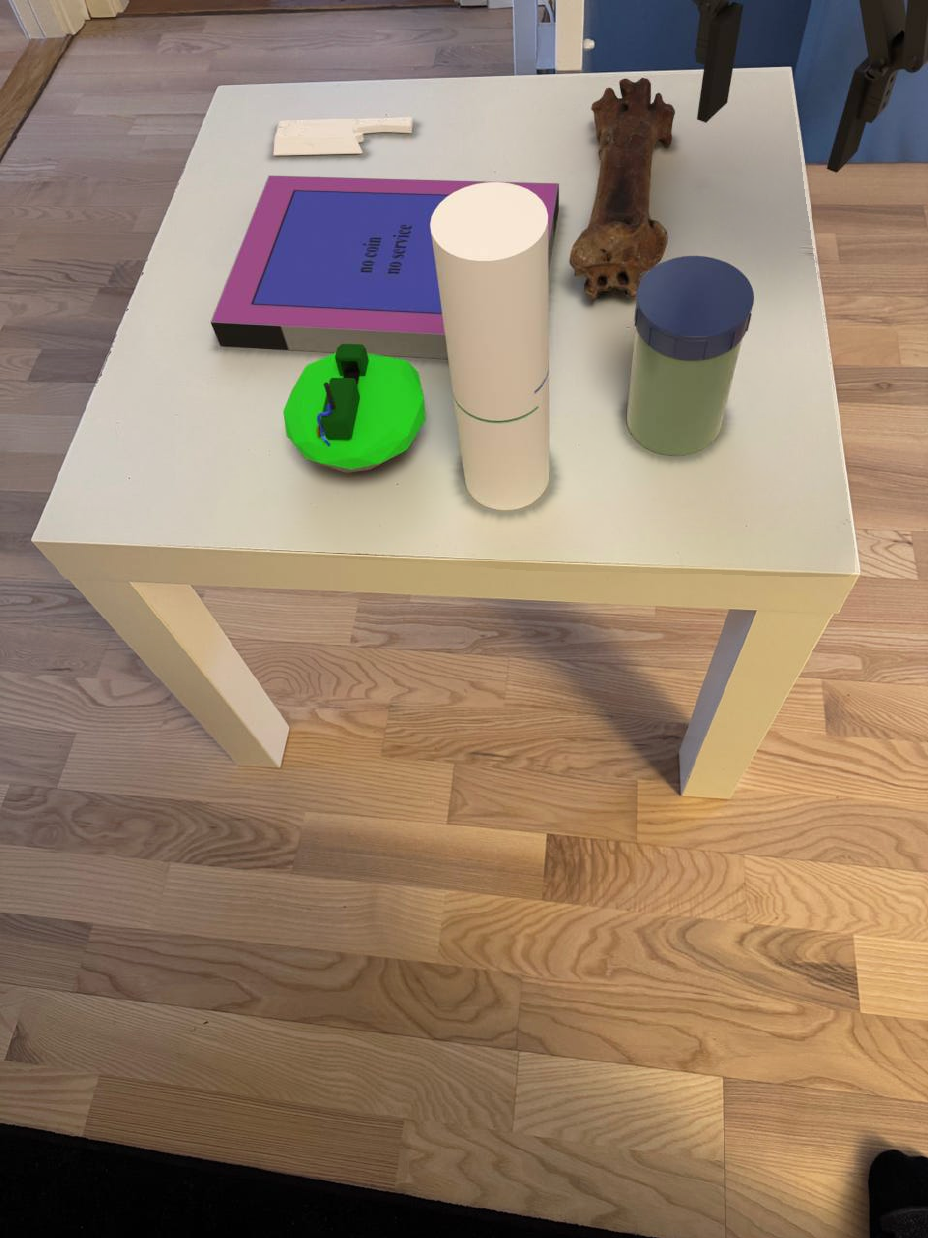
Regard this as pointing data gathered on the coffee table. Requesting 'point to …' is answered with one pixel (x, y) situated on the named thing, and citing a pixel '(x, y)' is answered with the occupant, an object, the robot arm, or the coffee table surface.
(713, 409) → the jar
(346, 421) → the green rounded piece
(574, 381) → the coffee table surface
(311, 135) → the butcher knife
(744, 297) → the jar lid
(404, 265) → the book
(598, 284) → the bone
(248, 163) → the coffee table surface
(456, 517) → the coffee table surface
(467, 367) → the cylindrical container
